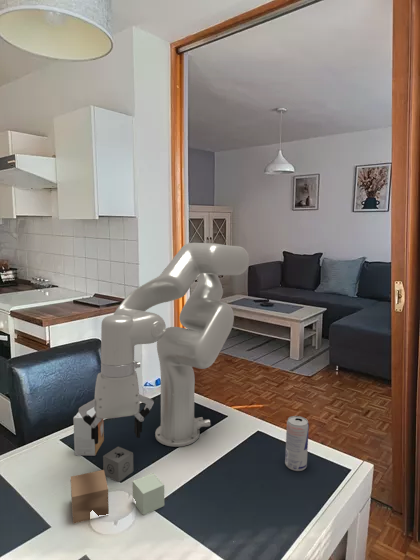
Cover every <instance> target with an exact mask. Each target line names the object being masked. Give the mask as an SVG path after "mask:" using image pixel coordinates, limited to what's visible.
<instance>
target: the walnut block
mask: <svg viewBox="0 0 420 560" xmlns="http://www.w3.org/2000/svg"><path fill="white" fill-rule="evenodd" d="M70 492H71V493H70V496H71V500H70V501H71V509H72V510H71V511H72V513H71V514H72V523H73V524H74V525H75V524H78V523H83V522H87V521H90V512H91V511H92V510H93V511H94V512H95V513H96V514H97V515H98V516H99V515H106V514H109V515H110V512H109V507H110V506H109V487H108V482H107V477H106V476H105V472H104V470H103V469H101V470H96V471H92V472H91V471H90V472H87V473H82V474H81V473H80V474H77V475H76V474H75V475H72V476H70Z"/></svg>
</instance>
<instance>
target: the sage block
mask: <svg viewBox="0 0 420 560" xmlns="http://www.w3.org/2000/svg"><path fill="white" fill-rule="evenodd" d="M133 498H134V499H135V501H136V505H135V506H136V508H137V510H138V511H139V512H140V514H142V515H143V516H145V515H148V514H150V513H152V512H154V511H156V510H158V509H160V508H162V507H163V508H164V507H165V484H164V483H163V482H162V481H161V479H159V477H157V476H156V474H155V473H154V472H151V473H149V474H147V475H144V476H143V477H140V478H137V479H135V480H132V499H133Z"/></svg>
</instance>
